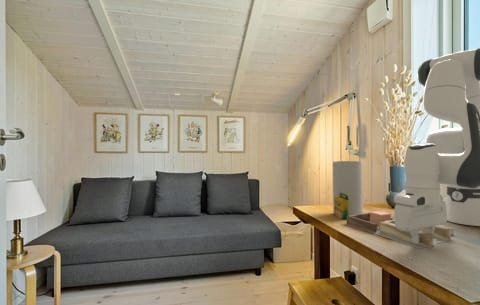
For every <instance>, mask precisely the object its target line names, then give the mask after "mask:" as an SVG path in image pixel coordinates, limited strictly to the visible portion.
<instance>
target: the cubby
mask: <svg viewBox="0 0 480 305" xmlns="http://www.w3.org/2000/svg"><path fill="white" fill-rule="evenodd" d="M370 212H371V211H370ZM370 212H369V211H368V212H363V213H362V214H356V215H350V216H347V220H346V225H347V224H350V225H353V226H356V227H359V228H362V229H365V230H368V231H371V232H374V233H376V232H377V224H375V223H372V222H368V221H370ZM391 220H394V218H393V217H391ZM350 225H349V226H350ZM353 226H352V227H353ZM356 227H355V228H356ZM359 228H358V229H359ZM362 229H361V230H362ZM365 230H364V231H365ZM368 231H367V232H368ZM371 232H370V233H371ZM374 233H373V234H374Z"/></svg>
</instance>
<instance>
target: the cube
mask: <svg viewBox="0 0 480 305" xmlns="http://www.w3.org/2000/svg"><path fill="white" fill-rule="evenodd" d="M391 218H392V214H391V213H389V212H386V211H382V210H376V211H370V222H372V223H375V224H377V227H379V228H380V222H384V221H389V220H391Z"/></svg>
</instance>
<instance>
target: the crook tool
mask: <svg viewBox="0 0 480 305" xmlns="http://www.w3.org/2000/svg"><path fill="white" fill-rule="evenodd" d="M380 232H381V233H384V234H387V235H390V236H394V237H397V238H400V239H403V240H406V241H409V242H412V236H411V234H410V232H406V231H402V230H399V229H397V228H396V226H395V220H389V221H384V222H380ZM418 235H419V237H421V243H416V244H419V245H422V246H425V247H424V248H432V247H434V246H435V245H434V235H433V234H429V233H426V232H422V231H419V232H418ZM412 243H413V242H412Z"/></svg>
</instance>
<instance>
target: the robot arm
mask: <svg viewBox="0 0 480 305" xmlns="http://www.w3.org/2000/svg"><path fill="white" fill-rule="evenodd" d="M417 80H418V82H419V85H420V86H422V87H424V91H423V97H422V105H423V109H424V111H425V112H426V113H427V114H428V115H430V116H431V117H432V118H436V119H439V120H442V121H446V122H451V123H454V124H458V125H460V127H453V128H442V129H437V130H433V131H431V132H430V133H429V134H428V135H427V138H426V142H422V143H421V142H420V143H414V144H411V145H408V146H407V147H406V151H405V156H404V174H405V181H404V182H405V183H404V189H403V190H402V191H401V192H399V193H397V194H395V195H394V197H393V202H394V203H395V205H394V213H393V214H394V220H395V226H396V228H397V229H399V230H402V231H406V232H410V234H411V236H412V242H413V243H421V237H419V235H418V232H419V229H422V228H426V231H425V232H426V233H429V234H433V232H434V230H435V226H436V225H439V226H441V225H445V224H446V223H447V222H451V223H454V224H459V225H465V226H472V227H473V226H474V227H476V226H477V227H480V47H479V48H476V49H469V50H462V51H457V52H453V53H451V54H446V55H443V56H439V57H435V58H430V59H427V60H425V61H422V63H421V64H420V65H419V66H418V69H417ZM440 185H447V186H446V197H443V196H442V195H441V186H440Z"/></svg>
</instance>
